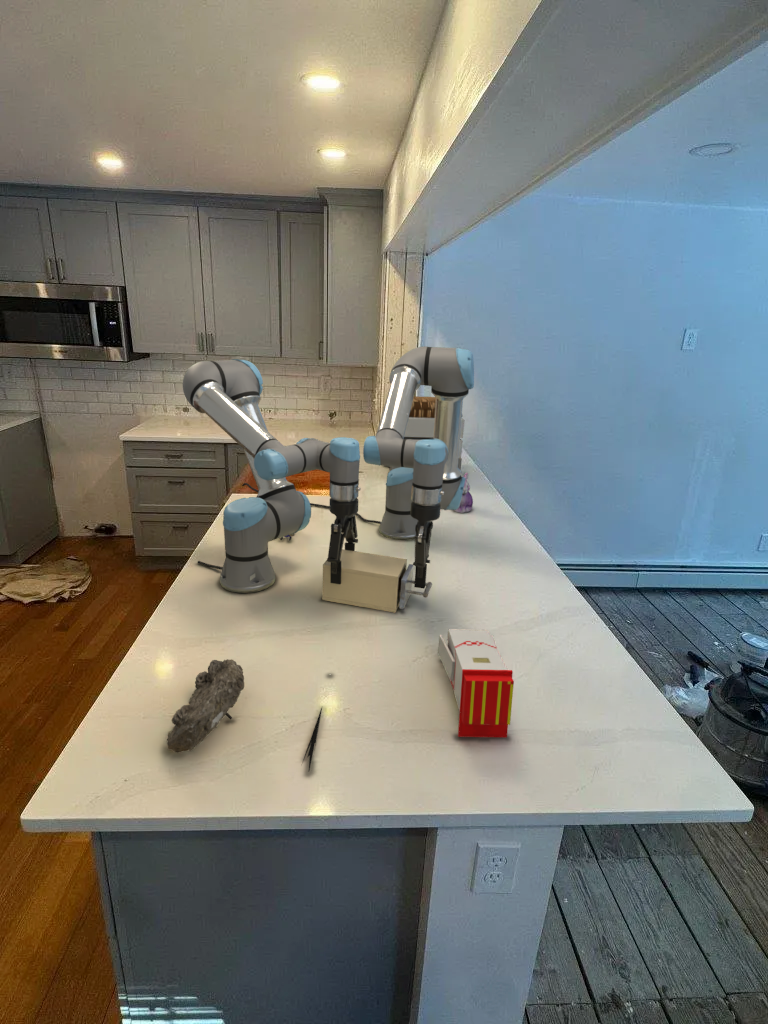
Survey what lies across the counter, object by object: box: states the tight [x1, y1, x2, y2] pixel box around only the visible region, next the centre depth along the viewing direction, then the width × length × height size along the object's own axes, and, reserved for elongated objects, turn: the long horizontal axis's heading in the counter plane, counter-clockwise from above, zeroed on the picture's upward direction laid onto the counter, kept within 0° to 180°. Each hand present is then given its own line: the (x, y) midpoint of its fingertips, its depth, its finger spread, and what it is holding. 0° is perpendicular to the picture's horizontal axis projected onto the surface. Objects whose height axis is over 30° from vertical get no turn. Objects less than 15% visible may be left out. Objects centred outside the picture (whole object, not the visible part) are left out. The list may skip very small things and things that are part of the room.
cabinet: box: [321, 548, 408, 613], centre depth 154 cm, size 20×11×10 cm, turn 76°
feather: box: [301, 673, 332, 771], centre depth 108 cm, size 2×28×2 cm
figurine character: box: [279, 533, 296, 542], centre depth 193 cm, size 7×8×15 cm
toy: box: [437, 628, 515, 738], centre depth 117 cm, size 12×13×30 cm
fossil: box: [166, 658, 245, 754], centre depth 106 cm, size 22×10×15 cm
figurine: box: [453, 472, 474, 514], centre depth 225 cm, size 9×10×15 cm
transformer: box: [386, 395, 465, 472], centre depth 268 cm, size 34×33×41 cm
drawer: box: [397, 563, 433, 610], centre depth 153 cm, size 25×10×8 cm, turn 76°
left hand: (342, 573), depth 155 cm, fingers closed on cabinet, 11 cm apart
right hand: (419, 586), depth 150 cm, fingers closed
